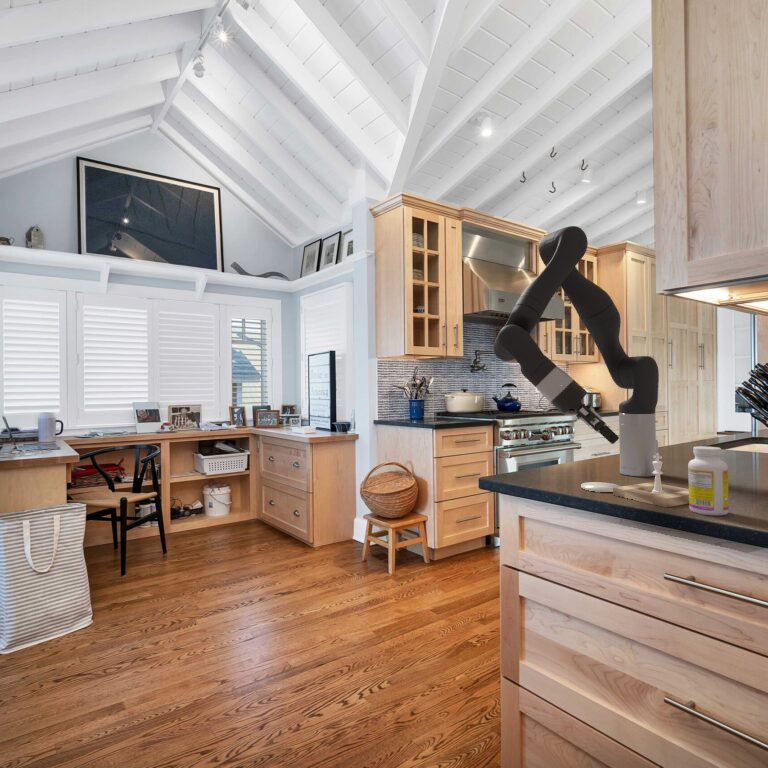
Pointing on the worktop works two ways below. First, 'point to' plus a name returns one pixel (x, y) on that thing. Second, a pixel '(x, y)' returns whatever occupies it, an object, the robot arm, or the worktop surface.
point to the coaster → (599, 486)
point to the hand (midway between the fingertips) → (614, 439)
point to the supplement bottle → (708, 482)
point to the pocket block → (654, 494)
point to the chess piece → (657, 474)
